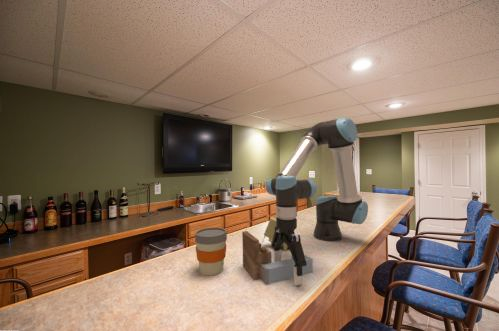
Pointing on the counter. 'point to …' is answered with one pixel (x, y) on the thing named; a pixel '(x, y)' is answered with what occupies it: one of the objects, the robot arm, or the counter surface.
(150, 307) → the counter surface
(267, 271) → the rail
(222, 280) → the counter surface
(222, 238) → the reusable coffee cup
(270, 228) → the mechanical component
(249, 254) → the wooden bracket with knobs
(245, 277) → the counter surface
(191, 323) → the counter surface
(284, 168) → the robot arm
